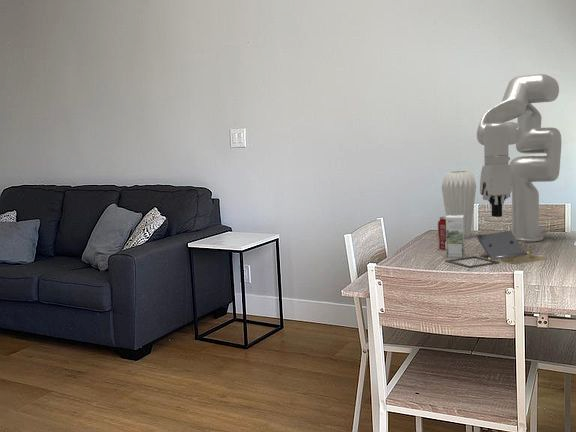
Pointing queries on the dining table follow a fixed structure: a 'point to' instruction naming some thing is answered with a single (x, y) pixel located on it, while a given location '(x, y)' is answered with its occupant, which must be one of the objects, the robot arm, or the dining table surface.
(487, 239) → the gray hinge leaf
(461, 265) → the gray rectangular frame
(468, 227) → the vase
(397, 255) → the dining table surface
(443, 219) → the soda can
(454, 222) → the syrup box
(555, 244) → the dining table surface
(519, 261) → the fixed leaf
